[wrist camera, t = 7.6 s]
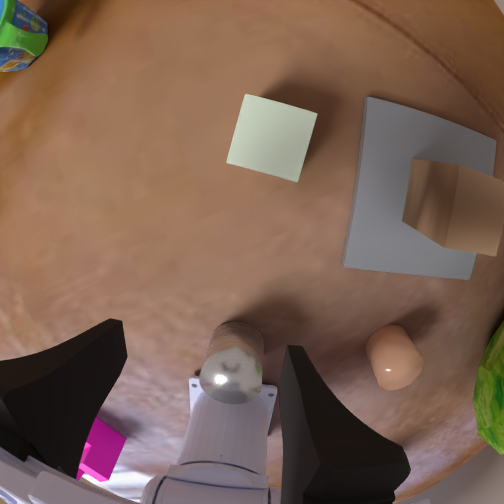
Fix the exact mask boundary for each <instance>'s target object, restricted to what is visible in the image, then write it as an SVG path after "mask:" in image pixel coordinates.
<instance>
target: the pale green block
mask: <svg viewBox="0 0 504 504" xmlns="http://www.w3.org/2000/svg"><path fill="white" fill-rule="evenodd" d="M316 117H317V113H314V112H311V111H308V110H304V109H301V108H298V107H294V106H291V105H287V104H284V103H280V102H276V101H273V100H269V99H265V98H261V97H257V96H253V95H248V94H245V97H244V100H243V104H242V107H241V111H240V114H239V118H238V121H237V125H236V128H235V132H234V136H233V139H232V143H231V147H230V151H229V154H228V158H227V162H226V163H229V164H233V165H237V166H241V167H245V168H248V169H252V170H256V171H260V172H263V173H267V174H270V175H274V176H277V177H281V178H284V179H288V180H291V181H295V182H298V179H299V176H300V173H301V169H302V166H303V162H304V159H305V156H306V152H307V149H308V145H309V142H310V138H311V135H312V131H313V128H314V124H315V121H316Z"/></svg>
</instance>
